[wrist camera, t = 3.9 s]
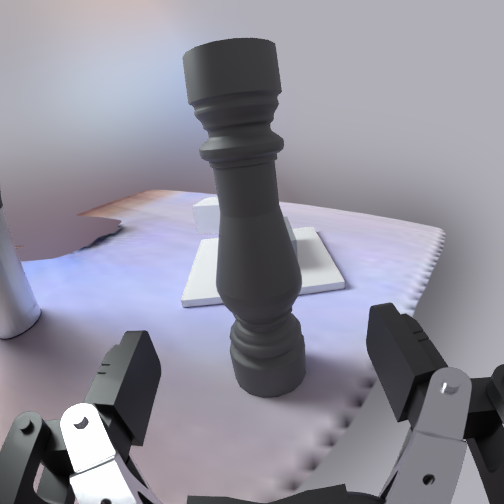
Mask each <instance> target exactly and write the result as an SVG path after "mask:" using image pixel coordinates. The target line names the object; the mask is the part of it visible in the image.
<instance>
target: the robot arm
mask: <svg viewBox="0 0 504 504" xmlns="http://www.w3.org/2000/svg"><path fill="white" fill-rule="evenodd" d="M40 313H41V311H40V308H39V306H38V303H37V301H36V299H35V297H34V294H33V292H32V290H31V287H30V285H29V282H28V280H27V277H26V275H25V272H24V270H23V267H22V264H21V262H20V259H19V256H18V254H17V251H16V248H15V245H14V242H13V239H12V236H11V232H10V229H9V226H8V223H7V219H6V216H5V212H4V208H3V204H2V200H1V193H0V338H3V339H6V338H11V337H14V336H17V335H19V334H21V333H23V332H24V331H26V330H27V329H29V328H30V327H31V326H32V325H33V324H34V323H35V322H36V321H37V320H38V318H39V316H40ZM366 346H367V351H368V355H369V357H370V359H371V361H372V364H373V366H374V368H375V370H376V373H377V375H378V377H379V379H380V382H381V384H382V386H383V388H384V391H385V393H386V395H387V398H388V400H389V403H390V405H391V408H392V410H393V412H394V415H395V417H396V419H397V422H401V421H405V420H409V422H410V424H411V427H410V429H409V431H408V434H407V436H406V439H405V441H404V444H403V446H402V449H401V451H400V453H399V456H398V458H397V461H396V463H395V465H394V467H393V470H392V472H391V474H390V476H389V478H388V479H387V481H386V483H385V485H384V487H383V489H382V491H381V492H380V494H379V496H378V497H377V496H374V495H371V494H366V493H360V492H347V491H346V486H345V484H342V485H336V486H331V487H326V488H320V489H314V490H307V491H304V492H301V493H298V494H296V495H293V496H290V497H287V498H284V499H280V500H277V501H274V502H271V503H257V502H251V501H245V500H239V499H234V498H229V497H210V496H188V498H187V504H450V503H451V500H452V497H453V494H454V491H455V488H456V485H457V482H458V478H459V475H460V472H461V468H462V464H463V460H464V456H465V452H466V447H467V444H468V446H469V448H470V451H471V453H472V456H473V458H474V461H475V463H476V466H477V468H478V471H479V474H480V477H481V479H482V482H483V485H484V488H485V491H486V494H487V497H488V500H489V503H490V504H504V427H503V425H502V424H504V364H503V365H500V366H498V367H497V368H496V369H495V370H494V372H493V374H492V376H491V377H487V378H474V379H473V378H469V377H468V375H467V374H466V373H464V372H463V371H461V370H459V369H457V368H451V367H448V365H447V364H446V362H445V361H444V359H443V358H442V356H441V355H440V353H439V352H438V350H437V349H436V348H435V346H434V345H433V343H432V342H431V340H429V337H428V336H427V335H426V333H425V332H423V329H422V327H421V326H420V325H419V323H418V322H417V321H416V320H415V319H413V318H412V317H410V316H409V315H407V314H401V315H400V313H399V312H398V310H397V309H396V308H395V306H394V305H393V304H392V303H385V304H380V305H374V306H371V308H370V312H369V321H368V330H367V338H366ZM160 377H161V365H160V361H159V358H158V356H157V353H156V351H155V348H154V346H153V343H152V341H151V338H150V336H149V334H148V332H147V331H145V330H144V331H127V332H125V334H124V336H123V338H122V340H121V342H120V344H119V345H115V346H114V347H113V348H112V349H111V350H110V351H109V352H108V353H107V354H106V355H105V357H104V360H103V362H102V366H100V368H99V370H98V374H96V376H95V378H94V380H93V382H92V385H91V387H90V389H89V391H88V393H87V396H86V398H85V400H84V402H83V404H78V405H75V406H73V407H71V408H70V409H68V410H67V411H66V412H65V413H64V415H63V417H62V419H56V420H49V421H44V420H43V419H42V418H41V416H40V415H39V414H38V413H37V412H34V411H27V412H24V413H22V414H20V415H19V416H18V417H17V418H16V419H15V421H14V422H13V424H12V426H11V429H10V431H9V433H8V435H7V437H6V440H5V442H4V444H3V447H2V449H1V451H0V504H74V501H75V496H76V498H77V501H78V503H79V504H162V502H161V501H160V500H159V499H158V498H157V497H156V495H155V494H154V493H153V491H152V490H151V488H150V486H149V485H148V483H147V481H146V480H145V478H144V477H143V475H142V473H141V471H140V470H139V468H138V466H137V464H136V463H135V461H134V459H133V457H132V456H131V454H130V453H129V451H130V447H131V445H135V446H143V442H144V438H145V434H146V430H147V426H148V422H149V418H150V414H151V410H152V407H153V403H154V399H155V395H156V392H157V388H158V384H159V381H160ZM463 439H466V441H467V443H466V441H463ZM40 463H41V464H42V465H43V466H44V470H43V473H42V476H41V479H40V483H39V486H38V489H37V493H35V491H34V488H33V483H34V479H35V476H36V473H37V470H38V467H39V464H40Z"/></svg>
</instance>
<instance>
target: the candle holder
mask: <svg viewBox="0 0 504 504" xmlns="http://www.w3.org/2000/svg"><path fill="white" fill-rule="evenodd" d="M183 64H184V73H185V81H186V88H187V96H188V103H189V104H190V105H192V106H193V107H194V109H195V116H196V118H197V119H198V120H200V122H201V123H202V125H203V128H204V129H205V130H207V131H208V134H209V139H208V140H207V141H206V142H205V143H204V144H203V145H202V147H201V148H200V149H199V151H200V156H201V158H202V159H204V160H206V161H209V164H210V167H212V168H213V170H214V176H215V182H216V189H217V196H218V202H219V208H220V225H219V240H218V256H217V271H216V288H217V292H218V294H219V295H220V297H221V299H222V301H223V303H224V305H225V306H226V307H227V308H228V309H229V310H230V311H231V312H232V313H233V315H234V317H235V318H236V320H235V323H234V324H233V325H232V327H231V332H230V339H231V347H230V354H231V359H232V363H233V367H234V372H235V376H236V379H237V381H238V383H239V385H240V387H241V388H243V389H244V390H245V391H247V392H248V393H249V394H252V395H256V396H260V397H278V396H280V395H283V394H286V393H288V392H291V391H292V390H293V389H295V388H296V387H297V386H298V385H299V384H300V383H301V382H302V380H303V377H304V375H305V343H304V336H303V335H302V334H301V325H300V322H299V321H298V319H297V318H296V317H295V316H294V315H293V314H292V313H291V312H292V305H293V304H294V302H295V300H296V298H297V297H298V295H299V293H300V291H301V287H302V275H301V270H300V266H299V263H298V260H297V257H296V254H295V251H294V248H293V245H292V242H291V239H290V236H289V233H288V230H287V227H286V224H285V221H284V218H283V215H282V212H281V209H280V206H279V199H278V189H277V180H276V171H275V161H274V160H276V159H277V153H278V152H280V151H281V150H282V149H283V147H284V141H283V139H282V138H281V137H280V136H279V135H277V134H276V133H274V132H273V131H271V129H270V123H271V122H272V121H273V119H274V117H273V116H274V112H275V110H276V109H277V107H278V104H279V103H278V100H277V96H278V95H279V94H280V93H281V92H282V90H281V82H280V75H279V68H278V60H277V53H276V47H275V43H273V42H271V41H269V40H265V39H258V38H233V39H226V40H220V41H214V42H210V43H207V44H203V45H200V46H197V47H194V48H193V49H191V50H189V51H187V52H186V53H185V54H184V56H183Z"/></svg>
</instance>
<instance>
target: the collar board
mask: <svg viewBox="0 0 504 504" xmlns="http://www.w3.org/2000/svg"><path fill="white" fill-rule="evenodd" d="M283 218H284V221H285V224H286V227H287V230H288V233H289V236H290V239H291V242H292V245H293V248H294V251H295V254H296V257H297V260H298V263H299V266H300V270H301V275H302V287H301V291H300V293H299V295H301V294H309V293H316V292H323V291H331V290H338V289H344V288H345V281H344V279H343V277H342V275H341V274H340V272H339V270H338V268H337V267H336V265H335V263H334V262H333V260H332V258H331V256H330V255H329V253H328V251H327V250H326V248H325V246H324V245H323V243H322V241H321V239H320V238H319V236H318V234H317V233H316V231H315V230H314V228H313V227H304V228H296V229H292V228H291V226H290V223H289V221H288V218H287V217H283ZM218 240H219V238H212V239H204V240H201V243H200V246H199V249H198V252H197V254H196V257H195V260H194V263H193V266H192V269H191V272H190V275H189V278H188V281H187V284H186V287H185V290H184V293H183V296H182V299H181V302H182V306H183V307H192V306H203V305H213V304H223V301H222V299H221V297H220V295H219V294H218V292H217V288H216V271H217V256H218Z"/></svg>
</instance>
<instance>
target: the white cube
mask: <svg viewBox="0 0 504 504" xmlns="http://www.w3.org/2000/svg"><path fill="white" fill-rule="evenodd" d="M192 207H193V213H194V218H195V223H196V228H197V234H219V225H220V208H219V202H218V197H212V198H205V199H203V200H202V201H200V202H198V203H197V204H195V205H194V206H192Z"/></svg>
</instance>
